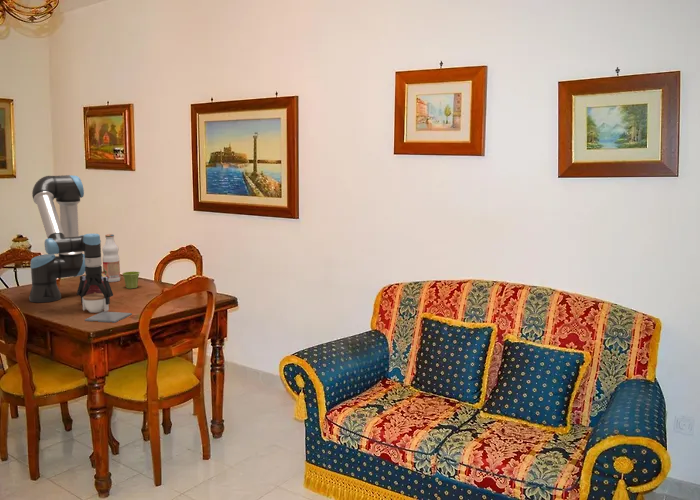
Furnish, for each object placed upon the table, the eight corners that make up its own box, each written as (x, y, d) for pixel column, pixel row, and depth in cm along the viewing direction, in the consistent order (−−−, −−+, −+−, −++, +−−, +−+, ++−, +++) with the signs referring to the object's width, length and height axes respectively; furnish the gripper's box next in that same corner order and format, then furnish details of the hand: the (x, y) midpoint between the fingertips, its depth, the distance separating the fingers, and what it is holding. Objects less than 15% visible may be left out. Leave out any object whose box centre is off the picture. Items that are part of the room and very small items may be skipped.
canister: (76, 306, 321) (74, 271, 318) (90, 300, 333) (88, 267, 331) (100, 307, 319) (99, 272, 316) (114, 301, 331) (112, 268, 329)
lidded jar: (100, 307, 318) (99, 289, 317) (111, 310, 311) (110, 292, 310) (79, 311, 310) (78, 292, 309) (91, 315, 303) (90, 295, 302)
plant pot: (135, 289, 359) (134, 274, 358) (119, 289, 360) (119, 274, 359) (143, 286, 368) (142, 271, 367) (128, 285, 369) (127, 271, 368)
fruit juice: (116, 282, 379) (113, 235, 374) (100, 282, 380) (98, 235, 375) (123, 279, 388) (120, 233, 384) (108, 279, 389) (105, 233, 385)
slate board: (84, 321, 293) (84, 319, 293) (103, 313, 307) (103, 311, 307) (114, 322, 290) (114, 321, 290) (131, 314, 304) (131, 313, 304)
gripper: (66, 266, 306) (69, 310, 309) (110, 268, 301) (113, 313, 305) (76, 263, 313) (79, 307, 316) (119, 265, 309) (121, 309, 312)
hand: (95, 310), depth 311 cm, fingers closed on lidded jar, 11 cm apart
